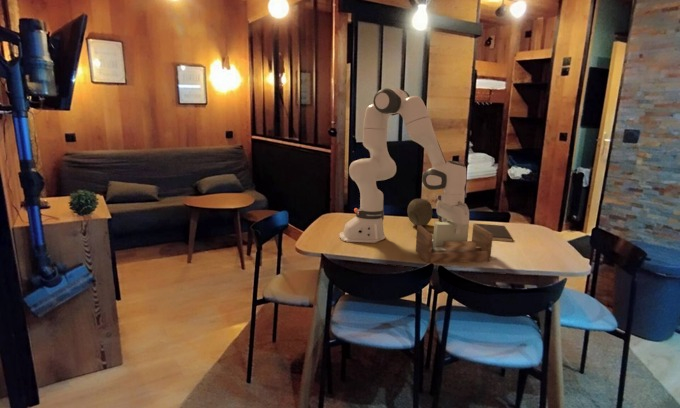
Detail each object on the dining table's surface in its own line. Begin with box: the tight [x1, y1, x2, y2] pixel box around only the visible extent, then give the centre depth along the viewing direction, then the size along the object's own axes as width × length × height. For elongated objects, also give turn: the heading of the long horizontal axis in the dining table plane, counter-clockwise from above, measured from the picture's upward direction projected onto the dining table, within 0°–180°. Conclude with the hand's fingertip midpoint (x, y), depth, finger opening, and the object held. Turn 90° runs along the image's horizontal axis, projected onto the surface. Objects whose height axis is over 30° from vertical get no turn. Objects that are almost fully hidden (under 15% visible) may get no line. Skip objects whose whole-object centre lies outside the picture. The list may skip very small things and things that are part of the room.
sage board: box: [432, 221, 470, 248], centre depth 177 cm, size 14×4×14 cm, turn 97°
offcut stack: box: [433, 240, 476, 252], centre depth 171 cm, size 20×4×8 cm, turn 97°
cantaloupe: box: [407, 198, 434, 227], centre depth 221 cm, size 14×14×15 cm
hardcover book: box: [476, 223, 514, 243], centre depth 210 cm, size 16×23×2 cm
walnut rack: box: [415, 223, 493, 264], centre depth 174 cm, size 28×15×12 cm, turn 97°
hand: (450, 230), depth 176 cm, fingers open, 8 cm apart
